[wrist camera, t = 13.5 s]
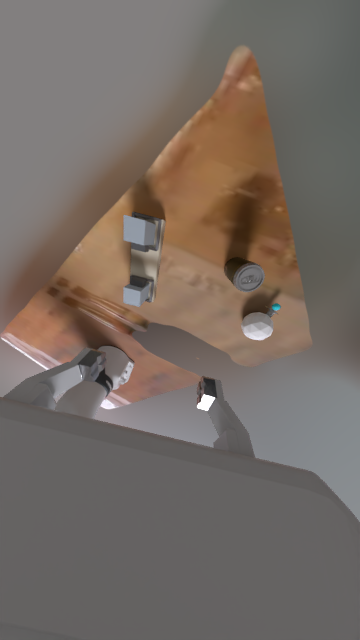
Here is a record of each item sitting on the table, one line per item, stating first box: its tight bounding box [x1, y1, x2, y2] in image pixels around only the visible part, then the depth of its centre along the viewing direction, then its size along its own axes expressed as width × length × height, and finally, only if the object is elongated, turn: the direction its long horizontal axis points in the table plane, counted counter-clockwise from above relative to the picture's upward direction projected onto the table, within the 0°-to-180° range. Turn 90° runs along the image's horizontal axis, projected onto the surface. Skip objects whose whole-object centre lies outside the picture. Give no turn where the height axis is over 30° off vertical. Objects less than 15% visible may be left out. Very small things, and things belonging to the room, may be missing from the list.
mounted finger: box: [124, 277, 150, 307], centre depth 35 cm, size 6×4×7 cm
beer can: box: [224, 257, 265, 292], centre depth 30 cm, size 5×5×12 cm
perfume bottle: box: [241, 303, 281, 340], centre depth 38 cm, size 8×8×12 cm
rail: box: [130, 212, 166, 302], centre depth 35 cm, size 20×7×3 cm, turn 167°
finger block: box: [124, 215, 156, 252], centre depth 29 cm, size 6×4×7 cm
